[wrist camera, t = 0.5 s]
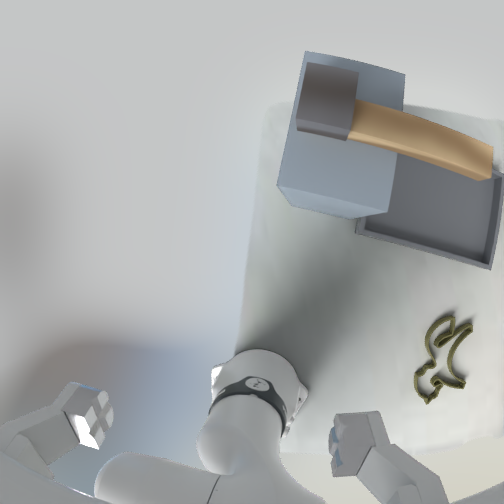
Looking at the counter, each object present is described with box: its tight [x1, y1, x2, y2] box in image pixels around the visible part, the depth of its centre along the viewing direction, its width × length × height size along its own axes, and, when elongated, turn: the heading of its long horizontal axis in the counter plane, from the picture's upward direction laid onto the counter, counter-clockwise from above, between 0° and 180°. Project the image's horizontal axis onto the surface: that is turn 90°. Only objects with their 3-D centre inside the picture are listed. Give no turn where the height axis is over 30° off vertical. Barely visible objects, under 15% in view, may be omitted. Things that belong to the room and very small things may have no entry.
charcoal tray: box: [355, 153, 504, 270], centre depth 46 cm, size 18×27×4 cm, turn 78°
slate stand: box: [277, 51, 405, 219], centre depth 38 cm, size 14×10×26 cm
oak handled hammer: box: [295, 62, 493, 181], centre depth 22 cm, size 5×18×6 cm, turn 78°
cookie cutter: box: [414, 316, 473, 405], centre depth 49 cm, size 18×12×2 cm, turn 5°
